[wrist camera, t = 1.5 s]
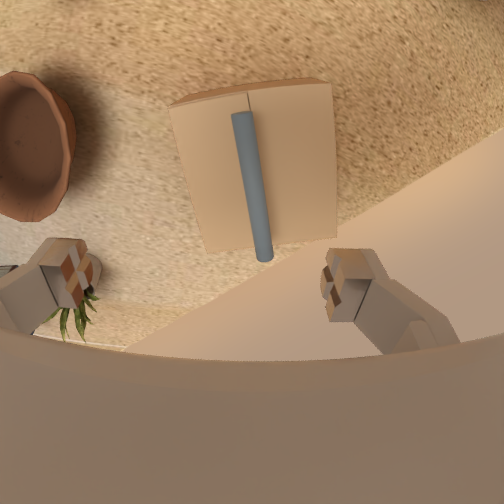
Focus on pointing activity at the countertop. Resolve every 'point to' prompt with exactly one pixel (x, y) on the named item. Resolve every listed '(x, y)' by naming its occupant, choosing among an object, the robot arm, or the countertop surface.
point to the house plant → (80, 311)
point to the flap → (224, 173)
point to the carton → (293, 154)
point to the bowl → (33, 147)
